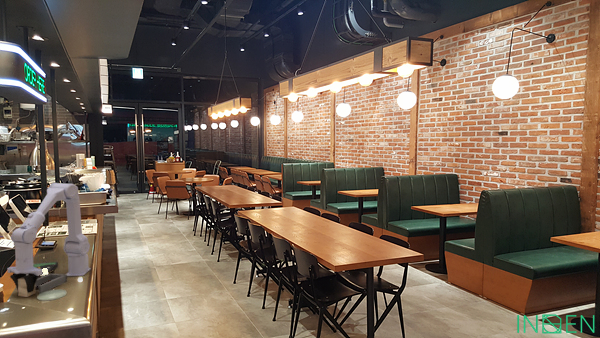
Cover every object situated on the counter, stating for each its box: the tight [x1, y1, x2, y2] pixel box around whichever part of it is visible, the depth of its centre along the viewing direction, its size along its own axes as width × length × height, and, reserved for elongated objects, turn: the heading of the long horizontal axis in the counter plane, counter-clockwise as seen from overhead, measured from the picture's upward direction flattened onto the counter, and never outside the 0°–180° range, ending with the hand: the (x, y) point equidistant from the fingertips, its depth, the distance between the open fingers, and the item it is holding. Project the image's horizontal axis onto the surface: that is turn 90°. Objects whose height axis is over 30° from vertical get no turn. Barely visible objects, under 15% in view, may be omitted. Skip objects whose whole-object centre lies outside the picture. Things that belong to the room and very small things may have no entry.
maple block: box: [17, 277, 37, 298], centre depth 156 cm, size 4×4×7 cm
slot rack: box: [35, 272, 68, 294], centre depth 166 cm, size 14×8×3 cm, turn 169°
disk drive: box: [26, 261, 59, 276], centre depth 183 cm, size 10×3×15 cm
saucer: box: [36, 288, 68, 302], centre depth 156 cm, size 10×10×1 cm
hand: (25, 291), depth 156 cm, fingers closed on maple block, 4 cm apart
